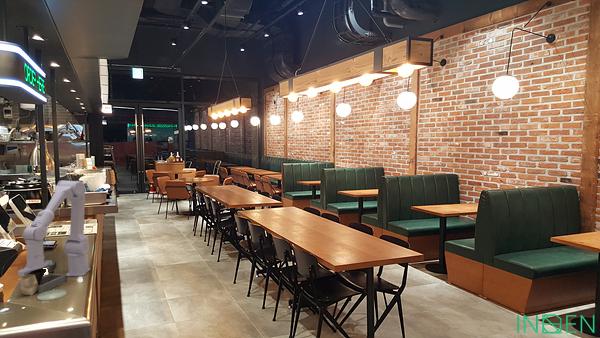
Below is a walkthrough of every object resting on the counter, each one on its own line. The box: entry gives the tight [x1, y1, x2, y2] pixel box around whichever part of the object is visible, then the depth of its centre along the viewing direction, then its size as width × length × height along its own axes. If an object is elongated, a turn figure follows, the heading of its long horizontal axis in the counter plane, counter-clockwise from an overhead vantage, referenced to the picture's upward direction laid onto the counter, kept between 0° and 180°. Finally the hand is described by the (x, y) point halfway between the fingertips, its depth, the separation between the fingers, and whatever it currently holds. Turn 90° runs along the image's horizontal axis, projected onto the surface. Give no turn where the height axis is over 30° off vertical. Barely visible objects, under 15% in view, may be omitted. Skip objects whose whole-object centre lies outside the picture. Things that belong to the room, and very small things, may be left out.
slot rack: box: [37, 272, 68, 294], centre depth 166 cm, size 14×8×3 cm, turn 169°
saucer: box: [36, 288, 68, 302], centre depth 156 cm, size 10×10×1 cm
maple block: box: [17, 274, 38, 296], centre depth 157 cm, size 4×4×7 cm
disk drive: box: [43, 261, 57, 272], centre depth 183 cm, size 10×3×15 cm
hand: (36, 287), depth 161 cm, fingers closed
